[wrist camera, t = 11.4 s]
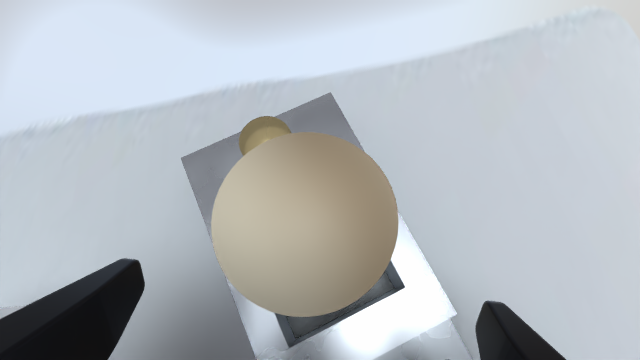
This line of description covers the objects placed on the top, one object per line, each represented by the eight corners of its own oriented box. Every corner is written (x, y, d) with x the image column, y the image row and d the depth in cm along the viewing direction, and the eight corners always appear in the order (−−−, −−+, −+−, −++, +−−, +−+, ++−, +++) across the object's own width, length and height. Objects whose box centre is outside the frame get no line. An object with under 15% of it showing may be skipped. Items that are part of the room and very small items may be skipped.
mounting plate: (369, 608, 15) (384, 748, 10) (201, 176, 21) (165, 144, 17) (542, 500, 16) (628, 584, 11) (330, 117, 22) (330, 73, 18)
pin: (303, 318, 19) (253, 355, 7) (271, 245, 20) (186, 177, 8) (375, 281, 19) (435, 259, 8) (339, 212, 20) (344, 105, 9)
